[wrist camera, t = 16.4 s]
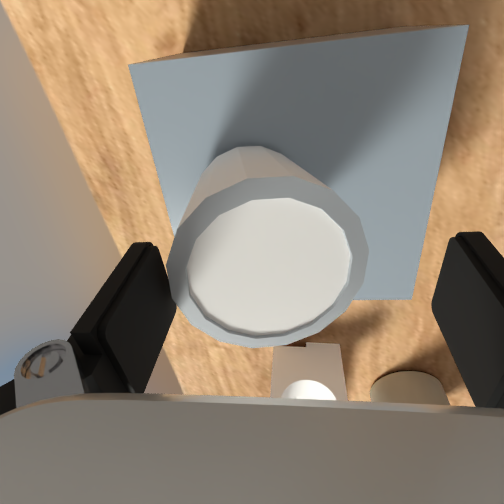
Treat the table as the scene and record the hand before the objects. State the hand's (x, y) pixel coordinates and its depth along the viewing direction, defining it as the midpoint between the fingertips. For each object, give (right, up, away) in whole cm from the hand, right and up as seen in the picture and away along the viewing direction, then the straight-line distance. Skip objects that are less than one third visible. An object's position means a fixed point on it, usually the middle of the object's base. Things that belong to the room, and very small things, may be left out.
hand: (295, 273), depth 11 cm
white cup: (-2, +3, +6) cm, 7 cm away
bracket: (+5, -14, +29) cm, 33 cm away
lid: (+1, +4, +7) cm, 8 cm away
